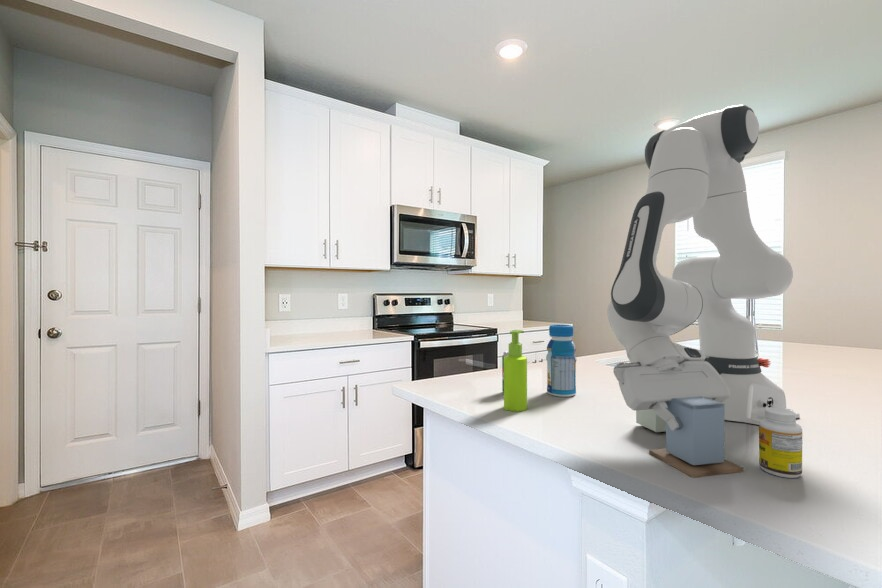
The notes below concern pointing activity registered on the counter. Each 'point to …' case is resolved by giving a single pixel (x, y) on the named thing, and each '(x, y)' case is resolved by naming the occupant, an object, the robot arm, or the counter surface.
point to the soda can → (503, 369)
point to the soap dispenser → (515, 376)
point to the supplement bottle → (780, 443)
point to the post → (696, 469)
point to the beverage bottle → (561, 362)
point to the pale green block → (650, 420)
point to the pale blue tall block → (697, 430)
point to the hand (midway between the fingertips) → (696, 427)
